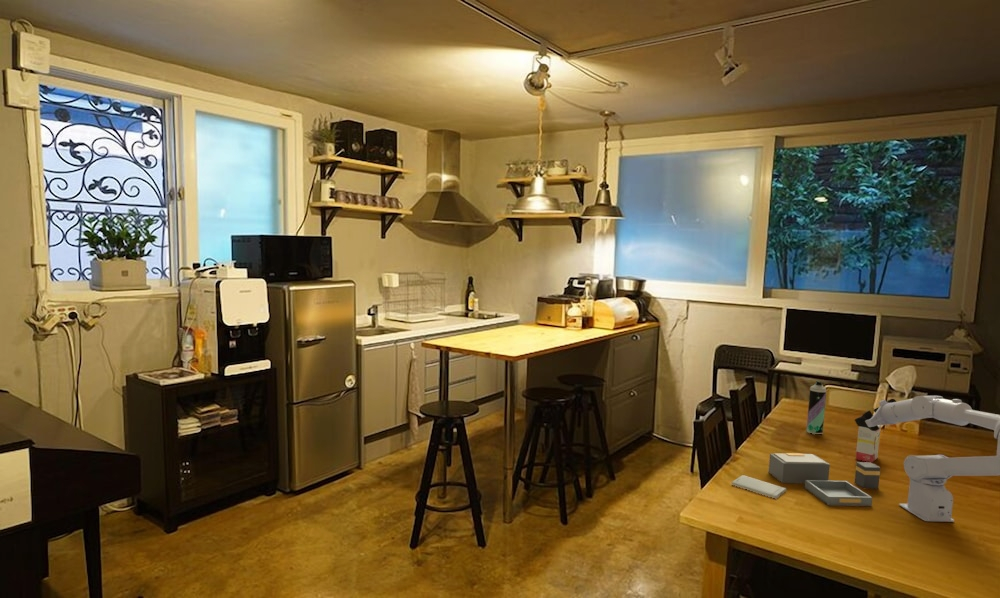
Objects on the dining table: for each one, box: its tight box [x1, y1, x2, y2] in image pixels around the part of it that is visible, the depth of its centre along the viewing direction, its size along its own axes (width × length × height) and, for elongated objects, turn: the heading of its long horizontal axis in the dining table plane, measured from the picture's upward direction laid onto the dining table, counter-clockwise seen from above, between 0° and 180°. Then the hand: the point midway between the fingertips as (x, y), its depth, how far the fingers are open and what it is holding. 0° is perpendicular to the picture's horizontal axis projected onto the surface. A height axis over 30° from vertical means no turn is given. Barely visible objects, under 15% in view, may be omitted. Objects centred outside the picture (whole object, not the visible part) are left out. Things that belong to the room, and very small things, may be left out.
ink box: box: [855, 425, 882, 463], centre depth 193 cm, size 9×5×12 cm, turn 134°
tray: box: [804, 479, 873, 507], centre depth 162 cm, size 11×12×2 cm
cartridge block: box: [854, 461, 881, 490], centre depth 170 cm, size 4×5×6 cm
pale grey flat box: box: [768, 452, 831, 484], centre depth 174 cm, size 8×14×6 cm, turn 92°
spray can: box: [806, 380, 827, 435], centre depth 220 cm, size 6×6×20 cm
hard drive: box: [731, 474, 787, 500], centre depth 166 cm, size 2×8×12 cm
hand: (866, 417), depth 173 cm, fingers open, 7 cm apart
